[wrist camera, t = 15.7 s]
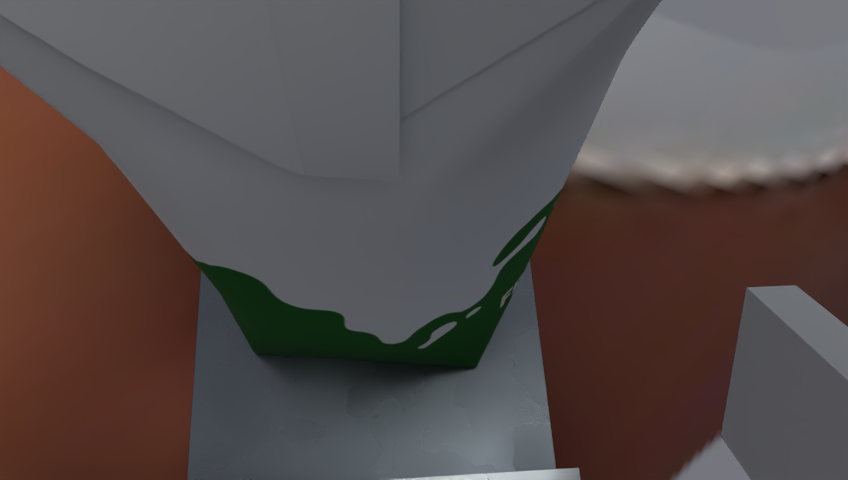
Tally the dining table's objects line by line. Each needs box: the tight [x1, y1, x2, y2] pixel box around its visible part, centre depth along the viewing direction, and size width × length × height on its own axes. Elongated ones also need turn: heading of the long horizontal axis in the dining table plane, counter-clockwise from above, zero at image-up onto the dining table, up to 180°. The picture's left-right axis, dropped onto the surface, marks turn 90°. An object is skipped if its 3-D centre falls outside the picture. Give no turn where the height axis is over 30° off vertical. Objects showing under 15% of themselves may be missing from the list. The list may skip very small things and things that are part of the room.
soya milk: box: [0, 0, 661, 368], centre depth 14 cm, size 9×9×20 cm
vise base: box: [187, 260, 556, 480], centre depth 21 cm, size 17×11×6 cm, turn 3°
